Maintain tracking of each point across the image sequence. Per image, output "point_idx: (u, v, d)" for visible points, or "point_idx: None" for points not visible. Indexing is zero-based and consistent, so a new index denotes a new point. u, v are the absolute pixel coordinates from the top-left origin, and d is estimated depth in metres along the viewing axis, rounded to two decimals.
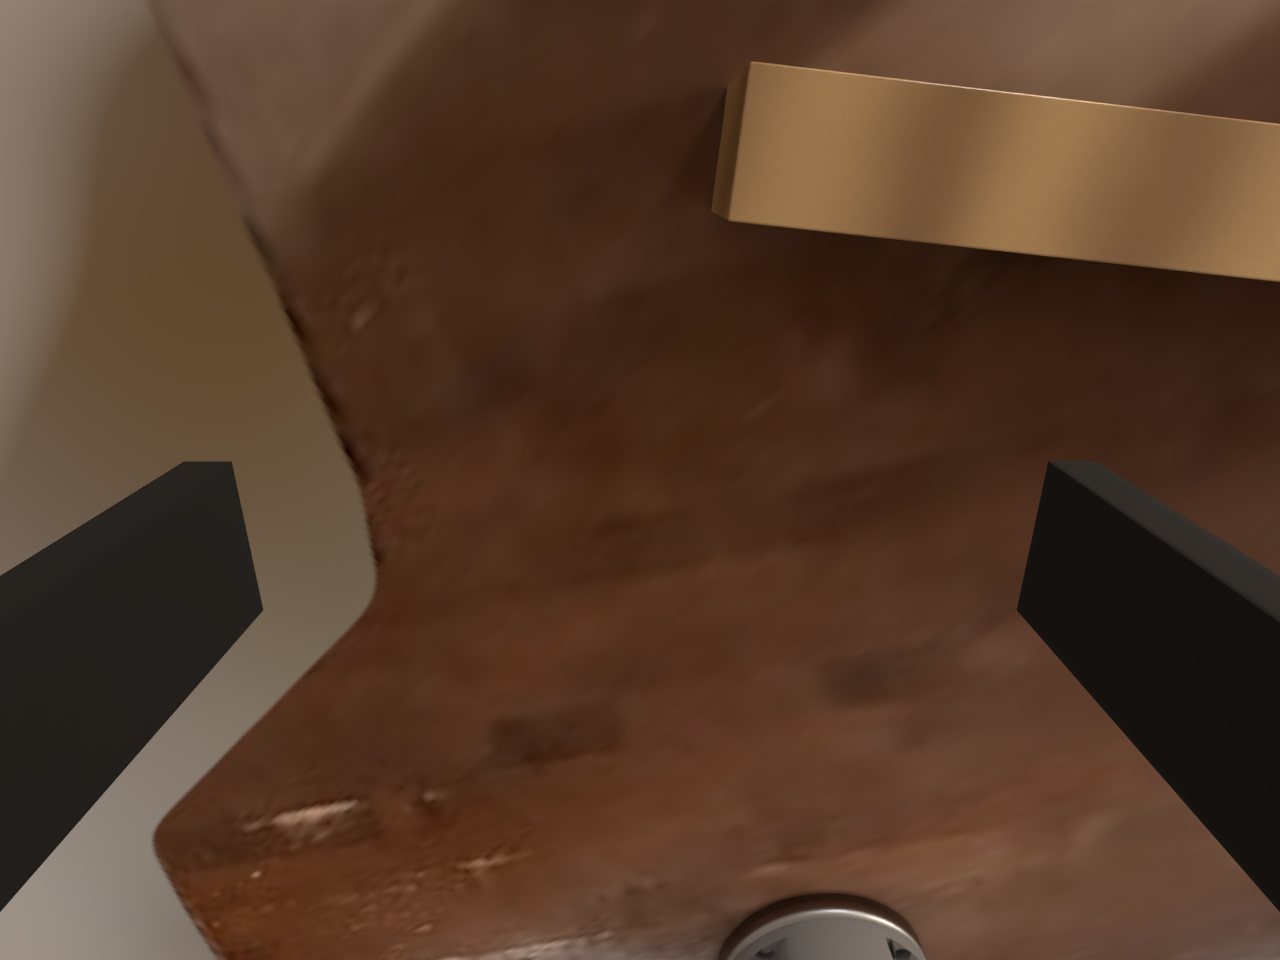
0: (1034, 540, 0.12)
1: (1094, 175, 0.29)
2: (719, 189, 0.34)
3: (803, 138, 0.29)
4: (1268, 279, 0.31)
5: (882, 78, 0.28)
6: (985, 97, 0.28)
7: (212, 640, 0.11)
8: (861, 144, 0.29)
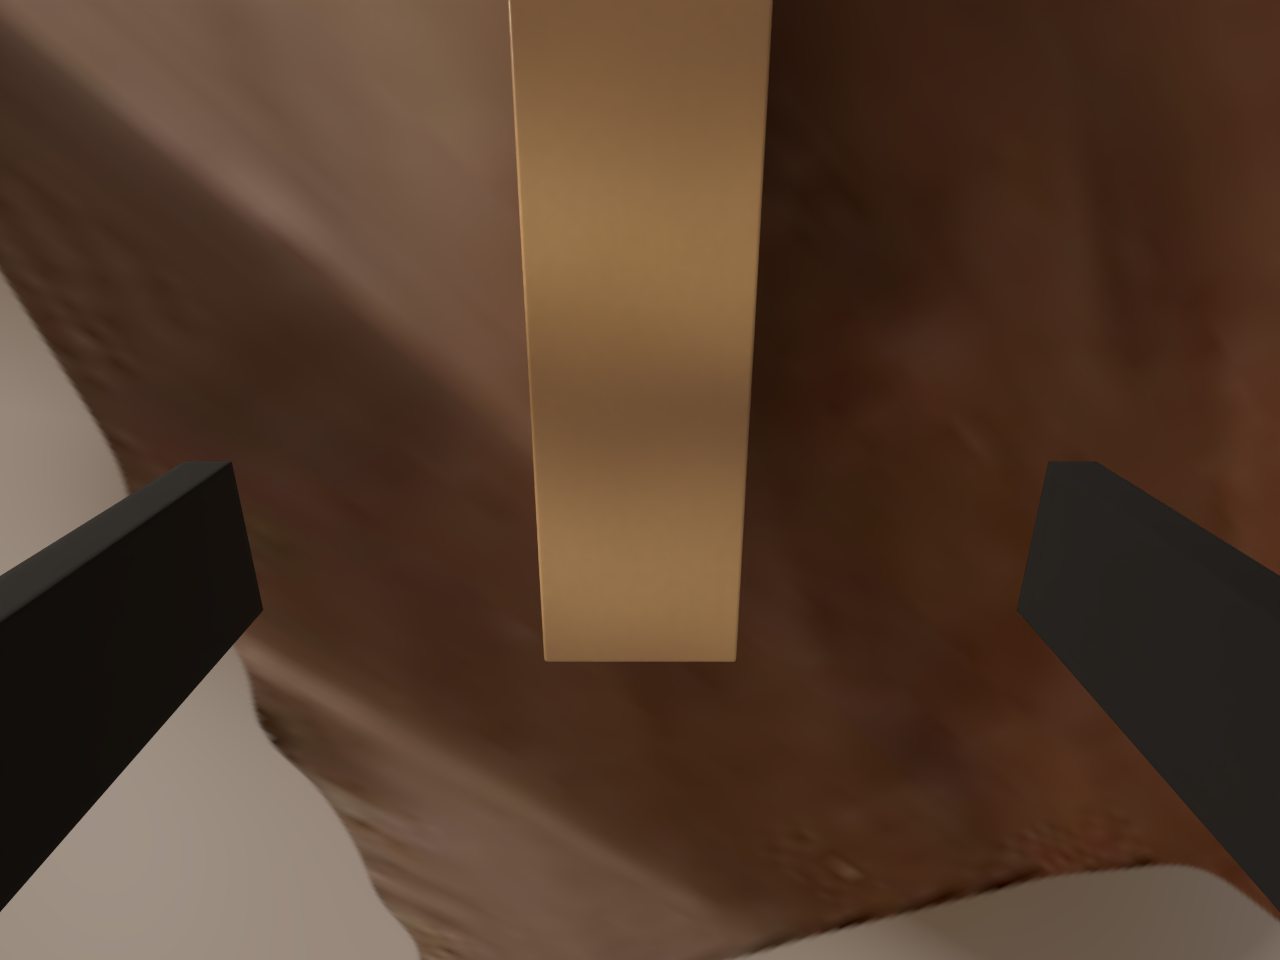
0: (1034, 540, 0.12)
1: (626, 143, 0.17)
2: None
3: (624, 589, 0.21)
4: None
5: (537, 506, 0.20)
6: (538, 360, 0.19)
7: (212, 641, 0.11)
8: (623, 518, 0.20)
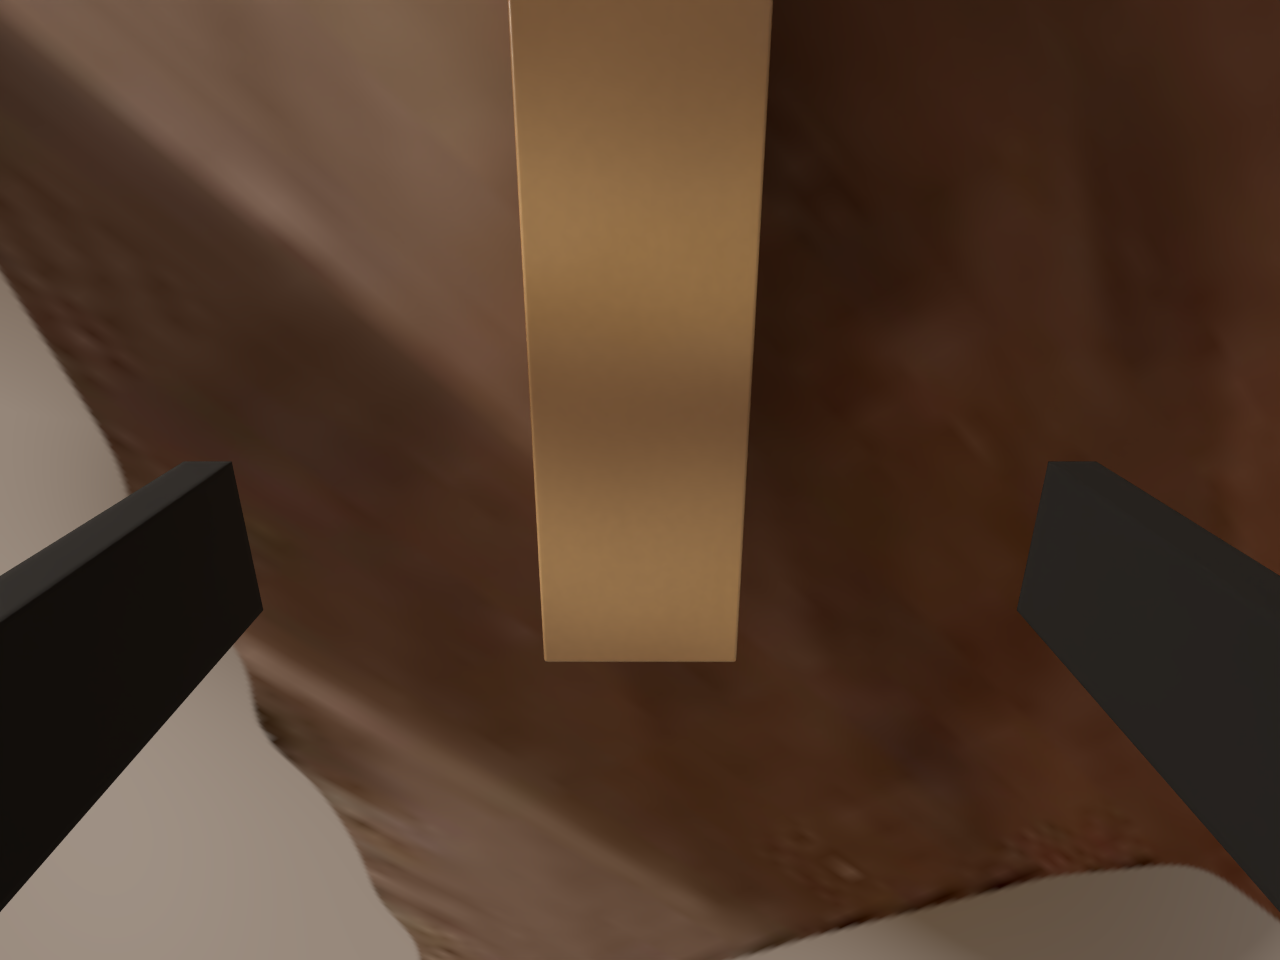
0: (1034, 540, 0.12)
1: (626, 142, 0.17)
2: None
3: (625, 590, 0.21)
4: None
5: (537, 506, 0.20)
6: (538, 360, 0.19)
7: (212, 641, 0.11)
8: (623, 517, 0.20)
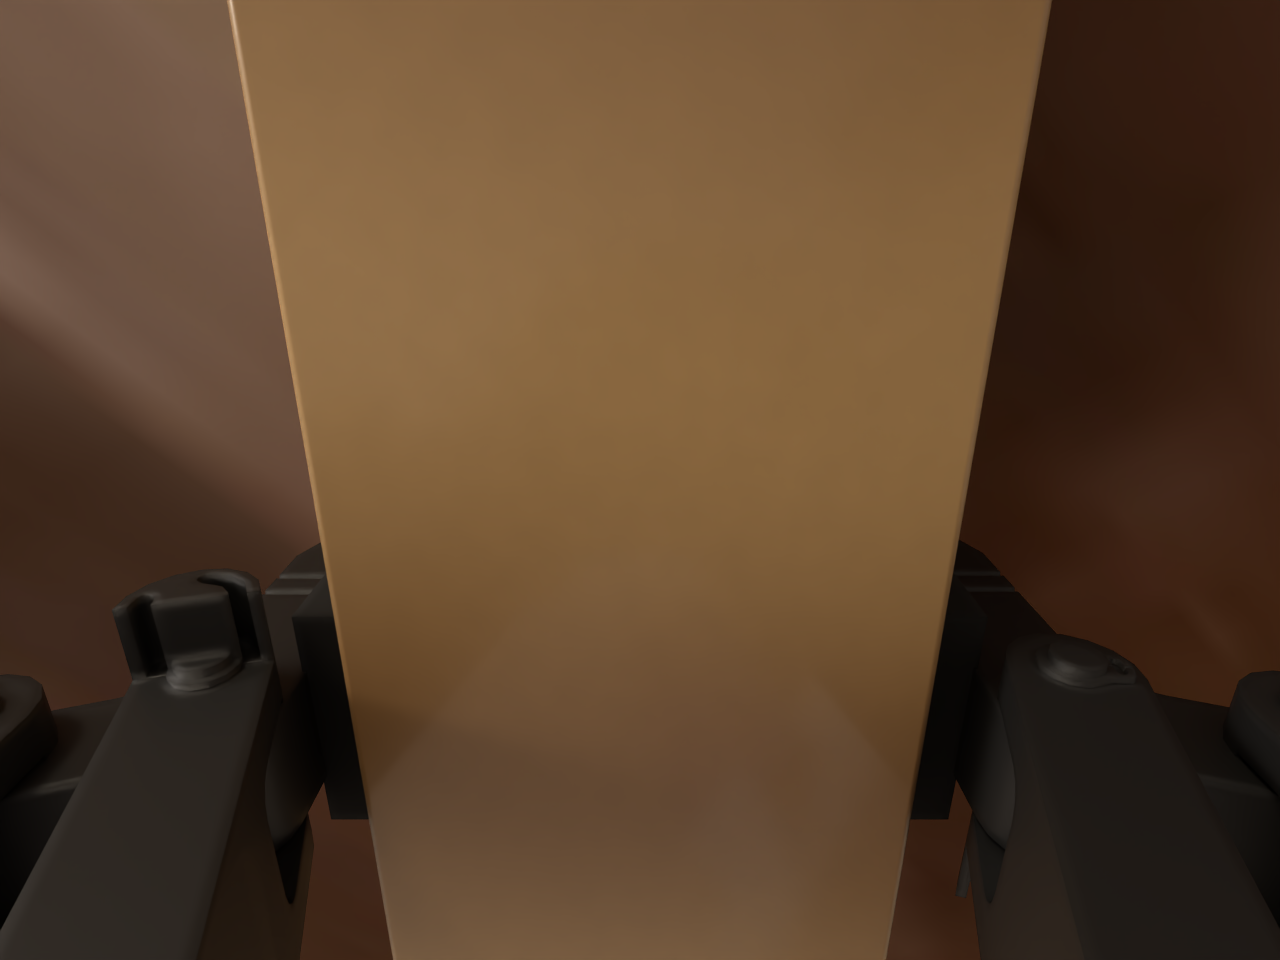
0: None
1: (594, 63, 0.05)
2: None
3: None
4: None
5: (396, 958, 0.09)
6: (369, 662, 0.07)
7: None
8: None
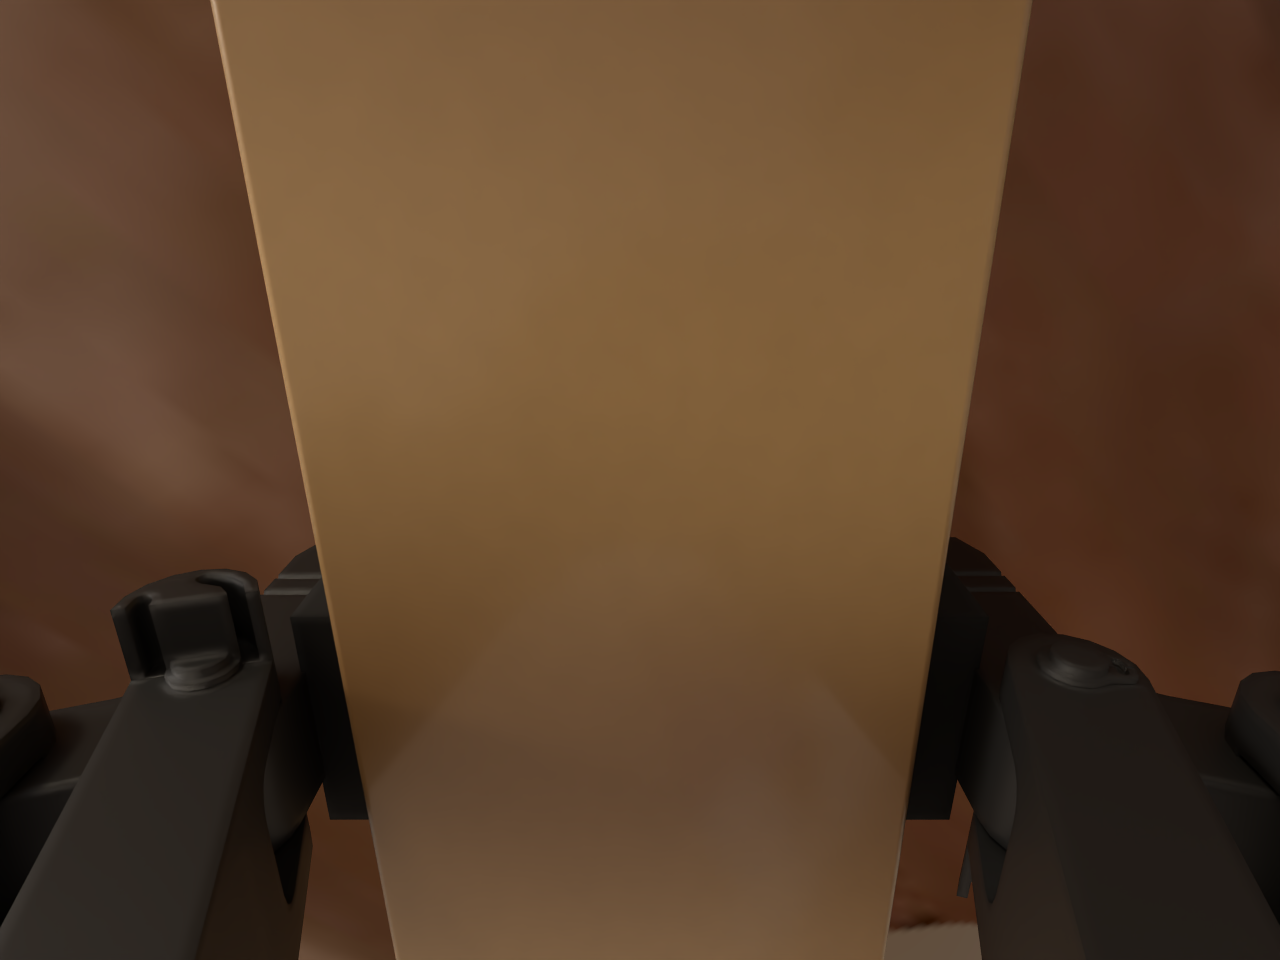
0: None
1: (577, 54, 0.05)
2: None
3: None
4: None
5: (397, 952, 0.09)
6: (364, 657, 0.07)
7: None
8: None
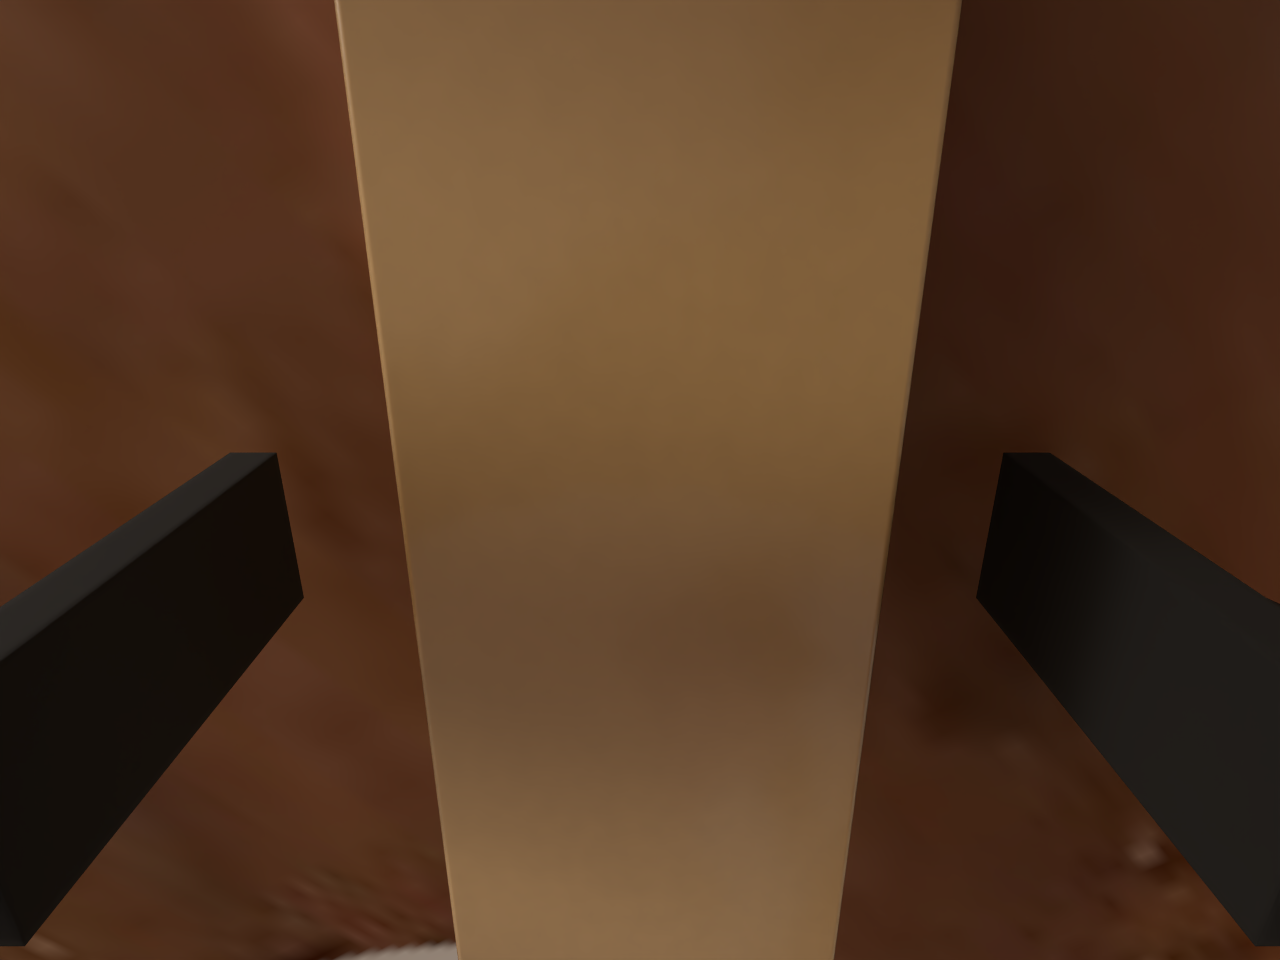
0: (992, 529, 0.13)
1: (614, 44, 0.07)
2: None
3: (617, 939, 0.11)
4: None
5: (441, 804, 0.10)
6: (426, 537, 0.09)
7: (259, 626, 0.12)
8: (613, 824, 0.10)
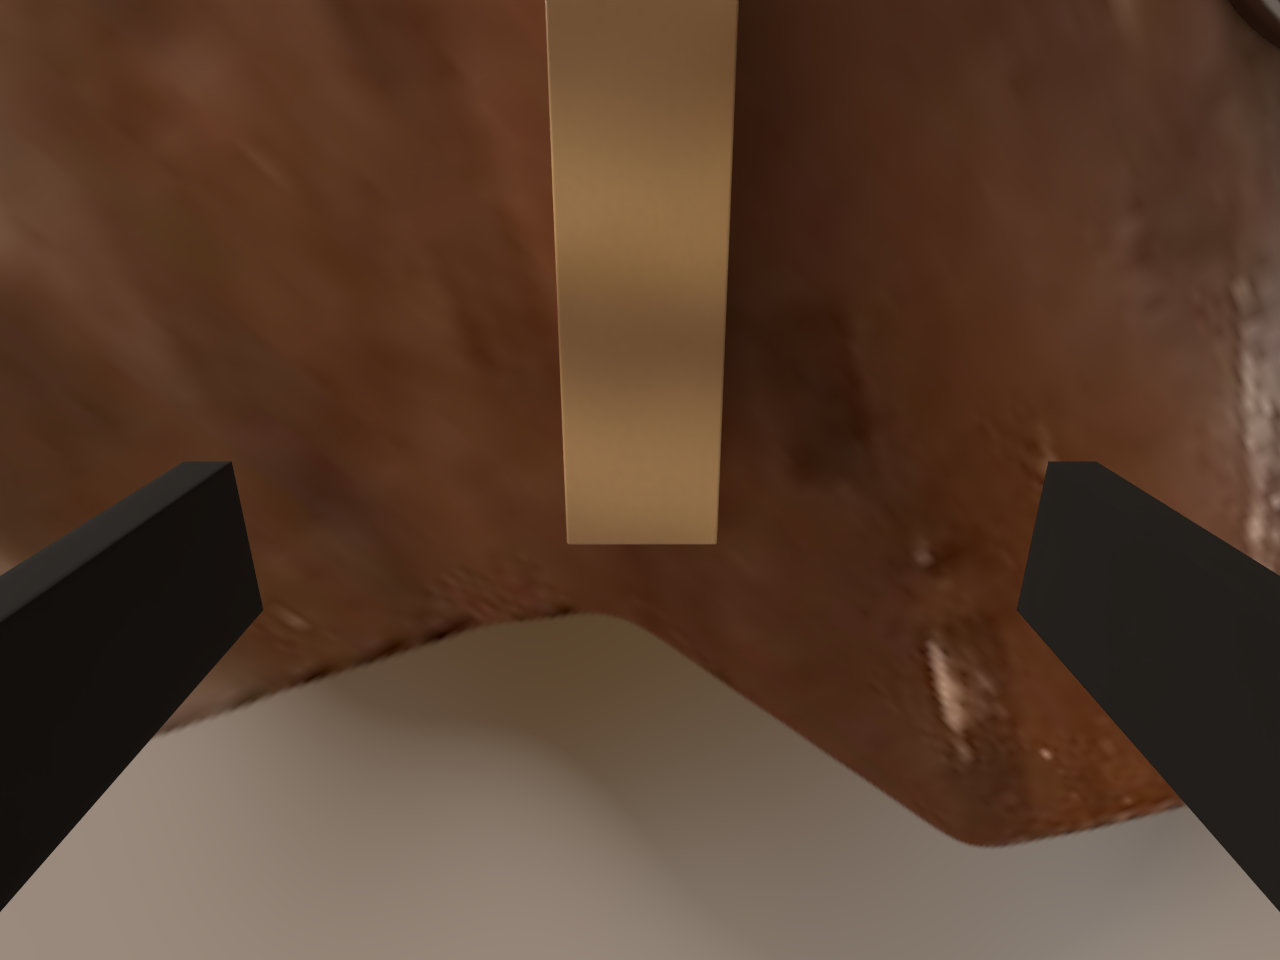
0: (1034, 540, 0.12)
1: (631, 138, 0.23)
2: None
3: (630, 484, 0.27)
4: None
5: (563, 417, 0.26)
6: (565, 302, 0.25)
7: (212, 640, 0.11)
8: (629, 426, 0.27)
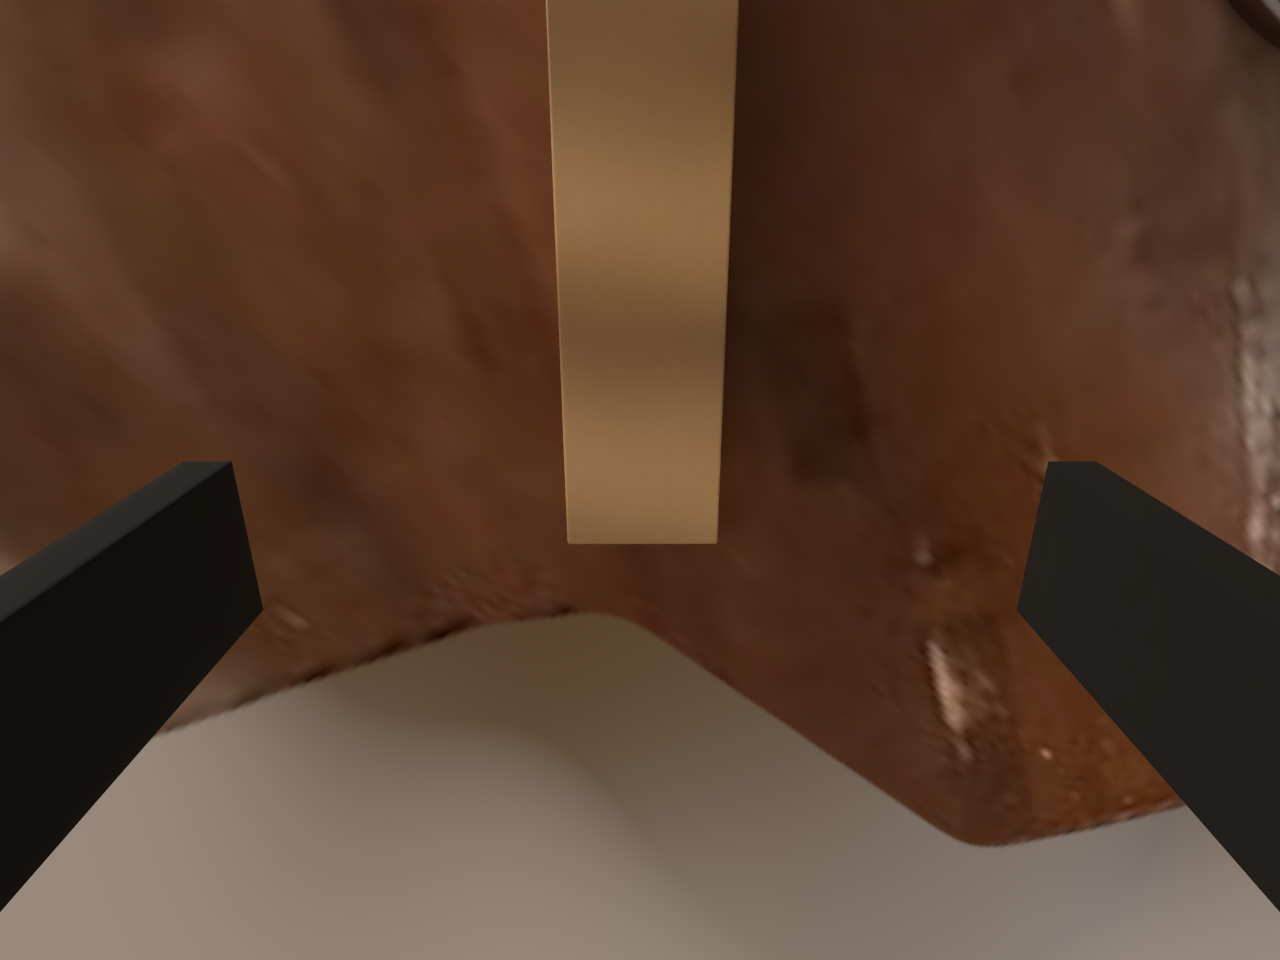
0: (1035, 540, 0.12)
1: (632, 138, 0.23)
2: None
3: (630, 484, 0.27)
4: None
5: (564, 417, 0.26)
6: (566, 302, 0.25)
7: (212, 641, 0.11)
8: (629, 426, 0.27)
